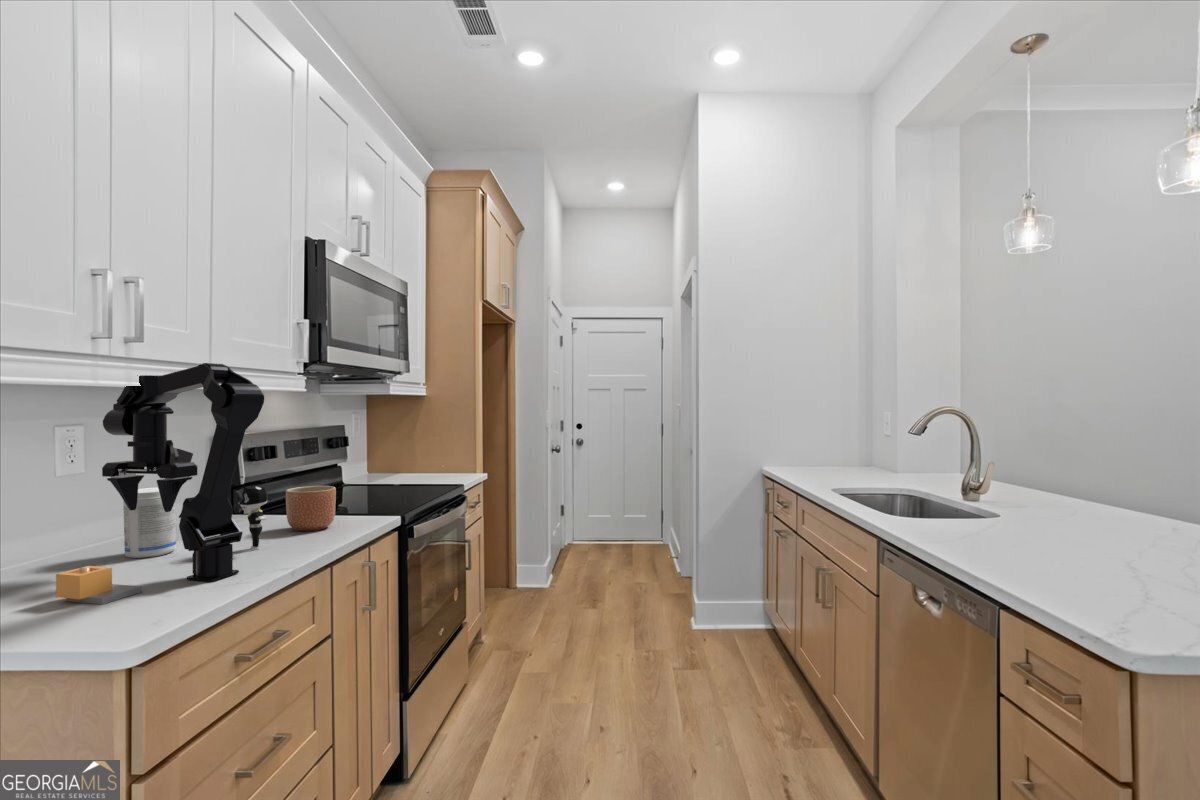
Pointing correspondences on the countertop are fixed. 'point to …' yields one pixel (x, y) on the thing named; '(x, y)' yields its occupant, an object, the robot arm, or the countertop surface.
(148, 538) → the supplement tub
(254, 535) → the toy
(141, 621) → the countertop surface
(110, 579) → the open tan tray box
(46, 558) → the countertop surface
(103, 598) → the grey base with peg
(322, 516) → the planter
